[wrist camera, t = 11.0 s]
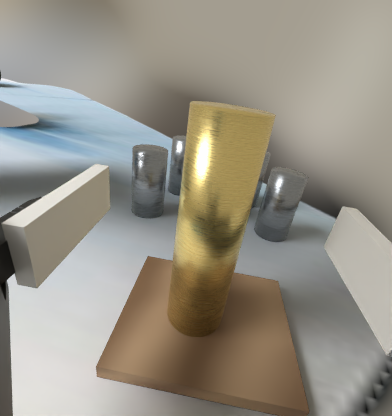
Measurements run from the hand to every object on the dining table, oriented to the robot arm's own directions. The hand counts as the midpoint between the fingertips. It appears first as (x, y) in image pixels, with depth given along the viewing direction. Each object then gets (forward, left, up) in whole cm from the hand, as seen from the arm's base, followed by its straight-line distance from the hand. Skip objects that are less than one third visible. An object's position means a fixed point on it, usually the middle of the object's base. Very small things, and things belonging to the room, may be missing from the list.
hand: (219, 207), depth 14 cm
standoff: (0, 0, -9) cm, 9 cm away
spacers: (0, +19, -10) cm, 21 cm away
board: (+1, 0, -10) cm, 10 cm away
